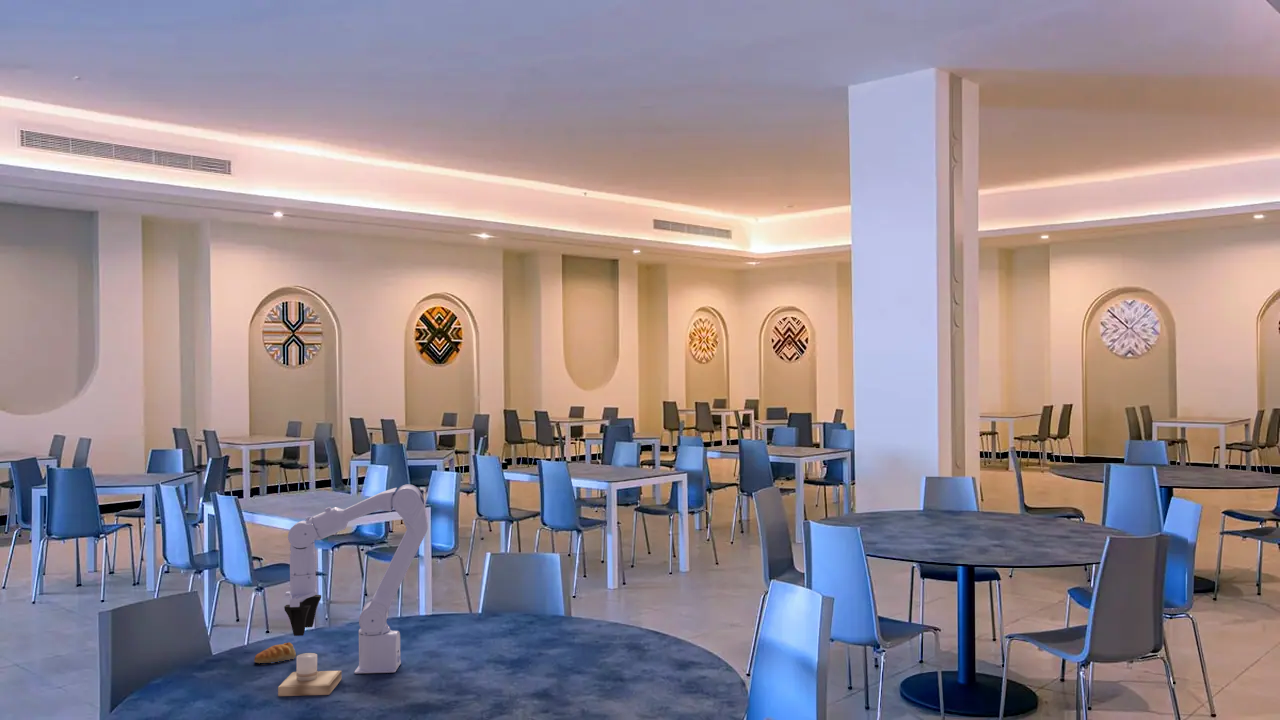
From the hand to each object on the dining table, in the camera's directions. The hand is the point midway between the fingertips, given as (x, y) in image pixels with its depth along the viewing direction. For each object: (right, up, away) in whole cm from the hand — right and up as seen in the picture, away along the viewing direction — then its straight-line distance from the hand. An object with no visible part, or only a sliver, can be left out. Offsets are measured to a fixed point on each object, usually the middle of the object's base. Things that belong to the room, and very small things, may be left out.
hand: (303, 631), depth 237 cm
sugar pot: (+4, -8, -11) cm, 14 cm away
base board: (+5, -10, -11) cm, 15 cm away
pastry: (-10, -11, +12) cm, 19 cm away
